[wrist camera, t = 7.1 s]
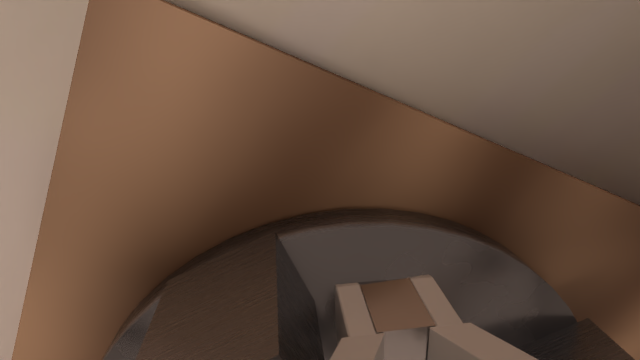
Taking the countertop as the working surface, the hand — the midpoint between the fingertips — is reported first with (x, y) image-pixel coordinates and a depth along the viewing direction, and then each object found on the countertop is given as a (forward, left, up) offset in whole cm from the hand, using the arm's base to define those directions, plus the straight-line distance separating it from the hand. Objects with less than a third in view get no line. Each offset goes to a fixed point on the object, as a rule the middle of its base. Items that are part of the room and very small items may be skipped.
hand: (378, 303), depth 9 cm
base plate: (-3, +7, -5) cm, 9 cm away
